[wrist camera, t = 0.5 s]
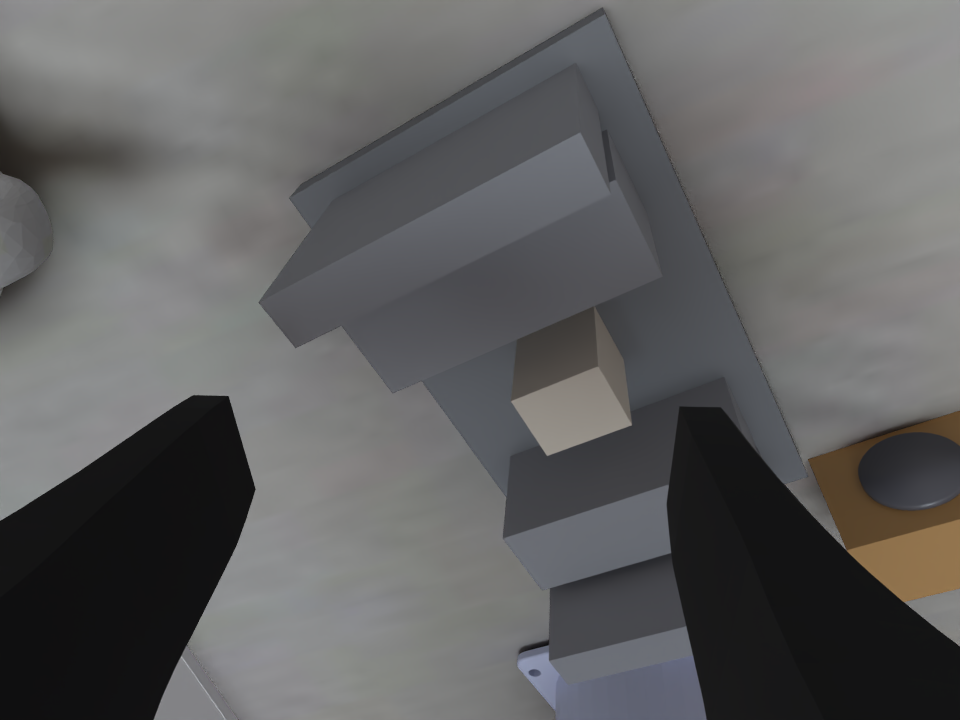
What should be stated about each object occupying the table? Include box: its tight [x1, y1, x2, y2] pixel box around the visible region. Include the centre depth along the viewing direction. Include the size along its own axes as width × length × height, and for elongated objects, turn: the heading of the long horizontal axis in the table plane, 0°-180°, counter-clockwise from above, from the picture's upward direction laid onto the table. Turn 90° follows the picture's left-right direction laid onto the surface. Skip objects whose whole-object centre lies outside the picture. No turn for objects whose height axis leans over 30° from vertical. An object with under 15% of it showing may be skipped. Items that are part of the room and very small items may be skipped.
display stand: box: [259, 8, 808, 685], centre depth 19 cm, size 15×9×6 cm, turn 30°
